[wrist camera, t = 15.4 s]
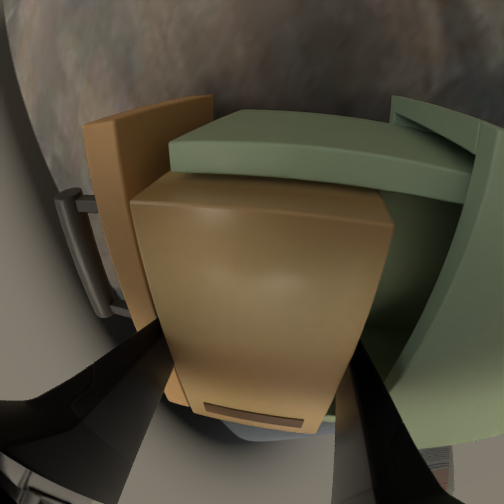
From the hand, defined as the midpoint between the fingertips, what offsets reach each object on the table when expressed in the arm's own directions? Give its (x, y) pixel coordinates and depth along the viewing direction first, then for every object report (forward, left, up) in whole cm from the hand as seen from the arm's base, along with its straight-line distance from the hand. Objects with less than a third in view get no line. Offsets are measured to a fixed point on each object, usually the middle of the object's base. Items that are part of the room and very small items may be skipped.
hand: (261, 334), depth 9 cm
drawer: (0, 0, -7) cm, 7 cm away
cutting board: (0, 0, -1) cm, 1 cm away
